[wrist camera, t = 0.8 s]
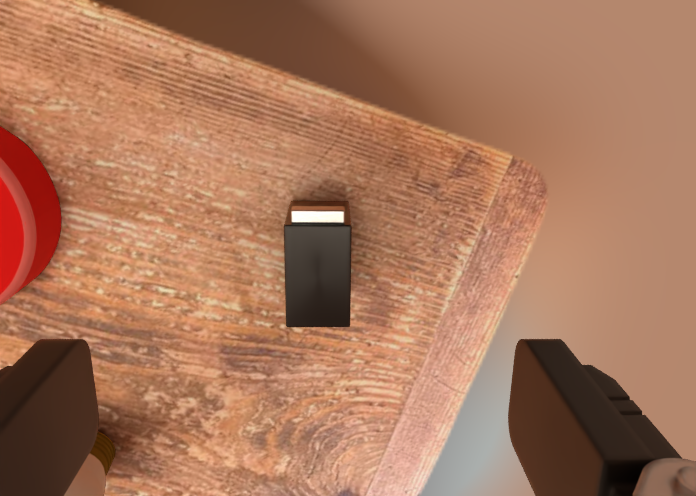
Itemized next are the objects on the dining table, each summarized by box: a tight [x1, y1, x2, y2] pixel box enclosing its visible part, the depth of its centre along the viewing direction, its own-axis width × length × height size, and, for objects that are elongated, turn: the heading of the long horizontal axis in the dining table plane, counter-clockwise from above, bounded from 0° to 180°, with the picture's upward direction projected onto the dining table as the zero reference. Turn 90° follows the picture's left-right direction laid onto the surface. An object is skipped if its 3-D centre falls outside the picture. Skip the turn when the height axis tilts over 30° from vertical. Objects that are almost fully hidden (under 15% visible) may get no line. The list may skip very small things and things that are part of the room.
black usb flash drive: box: [284, 201, 352, 327], centre depth 29 cm, size 6×3×4 cm, turn 179°
